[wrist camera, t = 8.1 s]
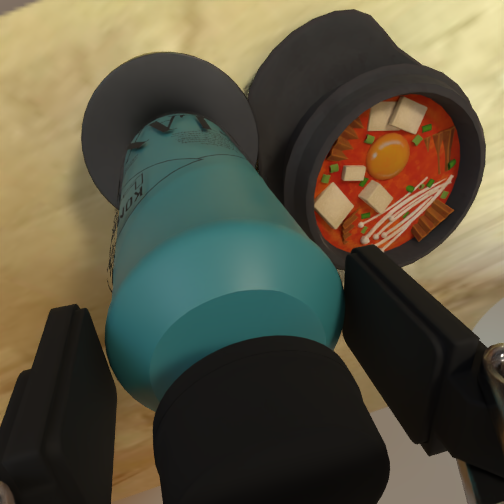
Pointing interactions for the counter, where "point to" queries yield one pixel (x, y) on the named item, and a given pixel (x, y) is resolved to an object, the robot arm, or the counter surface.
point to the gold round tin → (159, 110)
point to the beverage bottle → (232, 331)
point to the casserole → (365, 140)
